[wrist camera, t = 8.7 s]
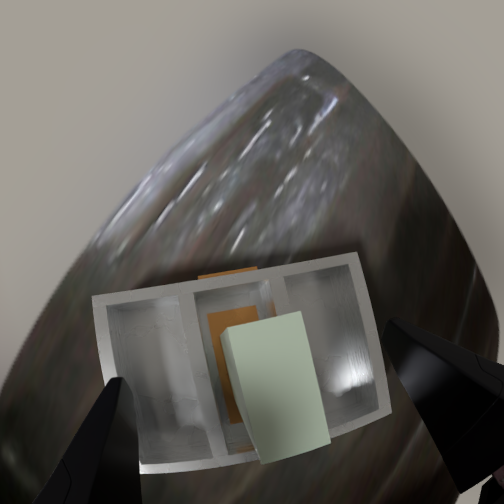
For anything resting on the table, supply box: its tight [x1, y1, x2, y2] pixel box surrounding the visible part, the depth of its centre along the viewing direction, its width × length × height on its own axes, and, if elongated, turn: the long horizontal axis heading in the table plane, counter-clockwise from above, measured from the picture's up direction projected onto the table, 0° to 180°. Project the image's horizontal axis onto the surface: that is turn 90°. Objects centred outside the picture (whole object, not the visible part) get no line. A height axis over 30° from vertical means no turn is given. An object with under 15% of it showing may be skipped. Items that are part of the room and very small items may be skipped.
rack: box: [92, 252, 392, 474], centre depth 15 cm, size 10×15×4 cm
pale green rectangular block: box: [220, 311, 331, 464], centre depth 12 cm, size 4×2×10 cm, turn 13°
